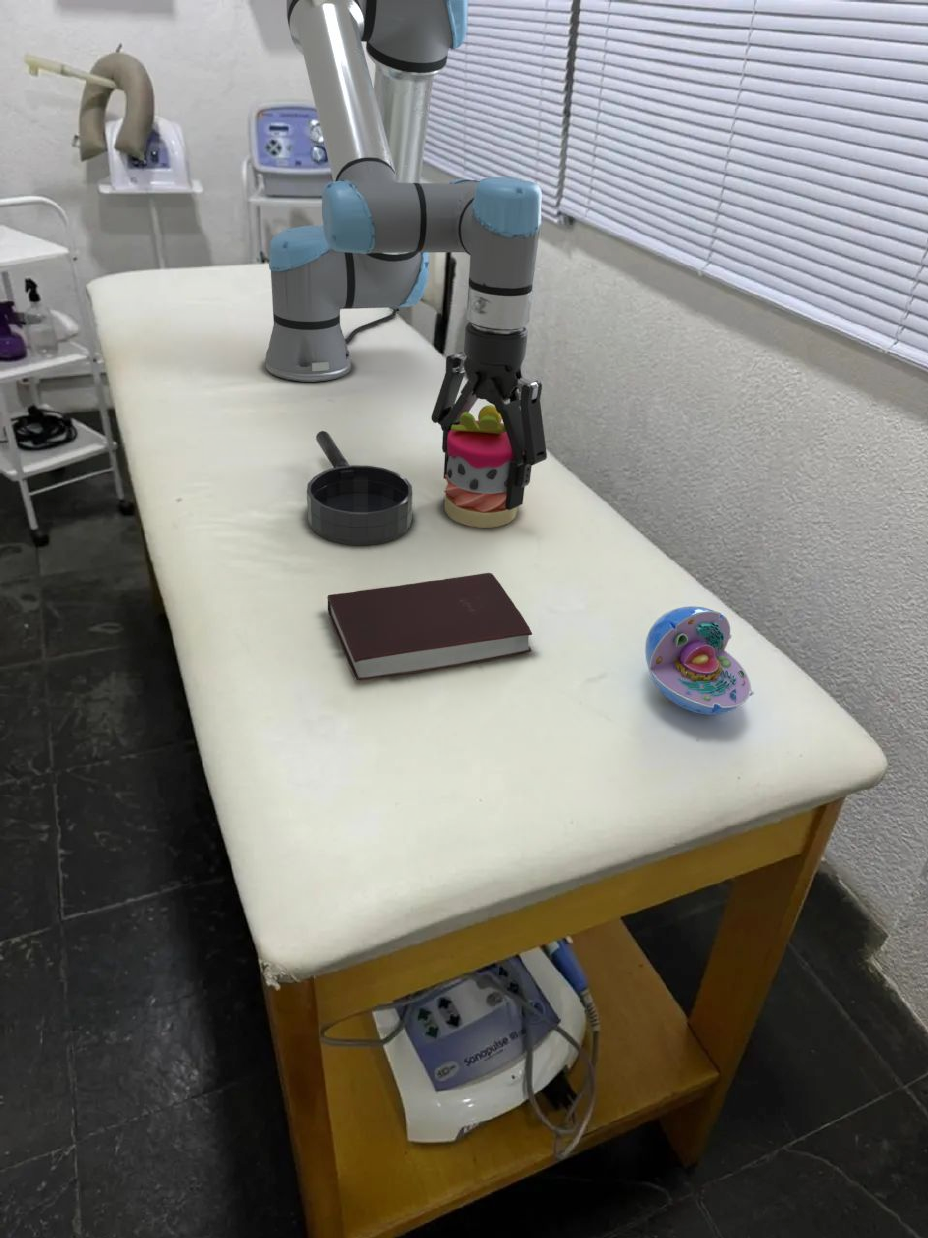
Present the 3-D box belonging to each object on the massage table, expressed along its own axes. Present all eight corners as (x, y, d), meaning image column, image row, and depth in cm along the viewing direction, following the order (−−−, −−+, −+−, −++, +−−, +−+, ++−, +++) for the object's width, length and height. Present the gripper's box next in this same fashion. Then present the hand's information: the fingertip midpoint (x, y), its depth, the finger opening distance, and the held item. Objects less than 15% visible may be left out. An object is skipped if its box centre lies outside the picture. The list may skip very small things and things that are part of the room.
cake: (443, 489, 120) (450, 386, 111) (518, 494, 120) (530, 392, 111) (439, 526, 112) (446, 417, 103) (519, 532, 112) (533, 424, 103)
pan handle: (354, 480, 115) (354, 467, 114) (340, 482, 114) (339, 468, 113) (328, 440, 124) (327, 428, 123) (314, 442, 124) (314, 429, 123)
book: (327, 614, 94) (326, 589, 92) (489, 590, 100) (491, 566, 98) (354, 685, 85) (354, 660, 83) (531, 654, 91) (535, 630, 89)
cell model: (685, 748, 81) (709, 669, 75) (616, 672, 89) (633, 596, 84) (766, 723, 84) (795, 646, 79) (693, 652, 93) (714, 579, 87)
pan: (425, 536, 109) (427, 505, 106) (323, 552, 104) (322, 520, 102) (392, 489, 119) (392, 460, 116) (297, 502, 114) (295, 471, 112)
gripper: (407, 305, 105) (402, 469, 118) (553, 357, 93) (530, 532, 106) (449, 296, 110) (440, 454, 123) (593, 344, 98) (566, 513, 111)
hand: (482, 490), depth 114 cm, fingers closed on cake, 10 cm apart
